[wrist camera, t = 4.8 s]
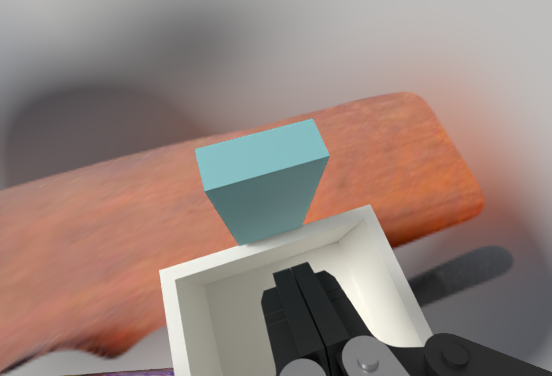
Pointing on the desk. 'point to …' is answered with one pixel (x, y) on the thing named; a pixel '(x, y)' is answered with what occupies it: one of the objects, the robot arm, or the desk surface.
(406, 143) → the desk surface
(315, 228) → the carton
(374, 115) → the desk surface
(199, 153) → the flap
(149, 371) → the snack box
